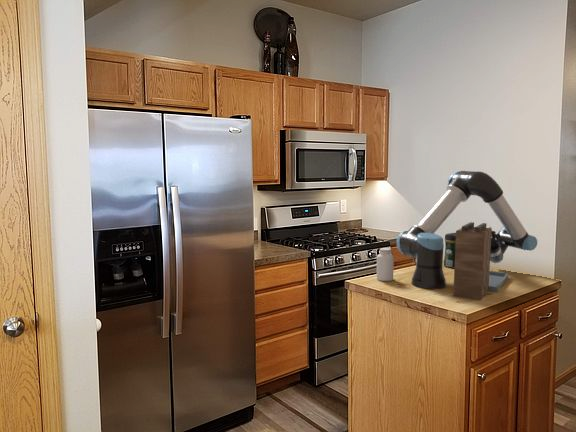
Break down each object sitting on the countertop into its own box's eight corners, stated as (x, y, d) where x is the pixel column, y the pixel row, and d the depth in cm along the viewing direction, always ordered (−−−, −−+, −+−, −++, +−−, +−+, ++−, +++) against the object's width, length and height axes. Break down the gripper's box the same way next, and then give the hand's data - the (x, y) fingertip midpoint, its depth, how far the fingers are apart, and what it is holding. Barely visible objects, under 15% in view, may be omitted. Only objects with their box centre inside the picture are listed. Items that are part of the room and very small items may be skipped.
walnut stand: (462, 287, 207) (465, 221, 204) (488, 291, 201) (492, 223, 198) (453, 296, 194) (456, 225, 190) (480, 300, 188) (484, 228, 184)
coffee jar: (452, 264, 255) (453, 231, 253) (464, 266, 248) (466, 233, 246) (440, 266, 250) (442, 232, 248) (453, 269, 243) (454, 234, 241)
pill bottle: (382, 276, 227) (382, 246, 226) (396, 279, 222) (397, 248, 220) (373, 279, 222) (373, 248, 220) (387, 282, 216) (388, 251, 214)
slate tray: (469, 272, 235) (470, 268, 235) (508, 277, 225) (508, 273, 225) (454, 286, 209) (454, 281, 209) (497, 292, 200) (497, 287, 199)
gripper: (508, 255, 227) (503, 238, 209) (474, 252, 236) (466, 235, 218) (510, 241, 229) (505, 223, 211) (476, 238, 238) (468, 220, 220)
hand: (485, 229), depth 215 cm, fingers open, 3 cm apart
